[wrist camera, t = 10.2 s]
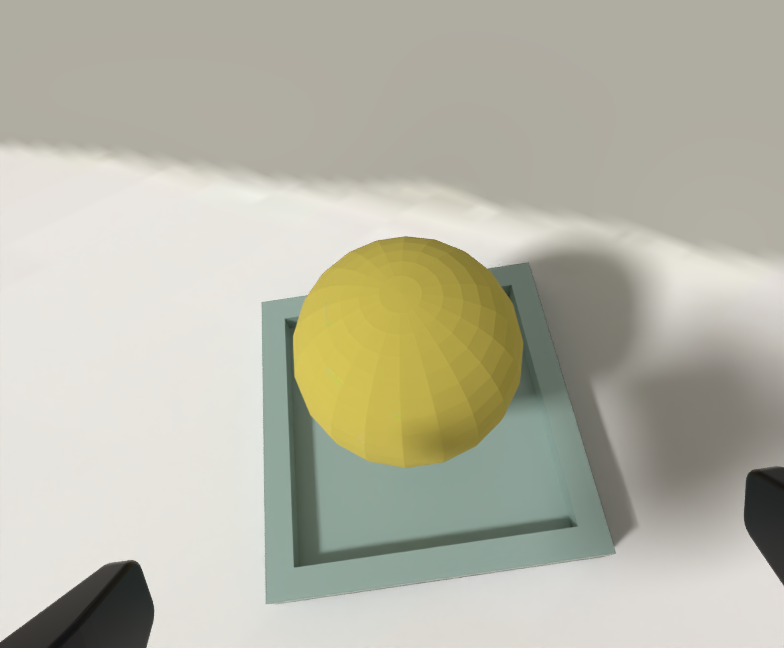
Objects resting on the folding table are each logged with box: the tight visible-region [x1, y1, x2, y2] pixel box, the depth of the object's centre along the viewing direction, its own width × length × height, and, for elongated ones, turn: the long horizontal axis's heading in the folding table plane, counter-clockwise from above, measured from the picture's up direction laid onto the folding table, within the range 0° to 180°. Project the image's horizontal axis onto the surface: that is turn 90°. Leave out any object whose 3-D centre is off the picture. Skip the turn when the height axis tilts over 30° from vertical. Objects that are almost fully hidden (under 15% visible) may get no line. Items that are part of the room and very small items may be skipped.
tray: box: [262, 263, 616, 604], centre depth 22 cm, size 12×12×2 cm
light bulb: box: [293, 236, 523, 468], centre depth 17 cm, size 7×7×10 cm
